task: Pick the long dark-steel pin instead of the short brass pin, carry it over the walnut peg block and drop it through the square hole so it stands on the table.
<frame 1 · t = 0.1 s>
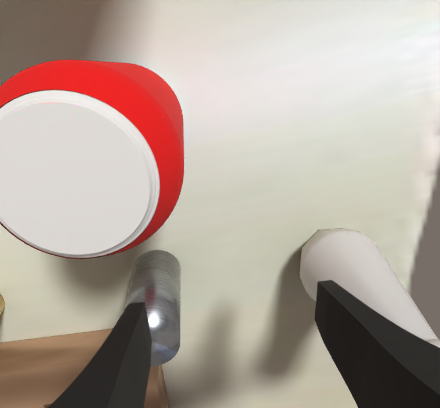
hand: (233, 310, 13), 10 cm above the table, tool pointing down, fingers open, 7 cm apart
long pin: (157, 270, 24), on the table
salt shaker: (325, 249, 25), on the table
beverage can: (132, 118, 20), on the table
hole block: (93, 385, 28), on the table
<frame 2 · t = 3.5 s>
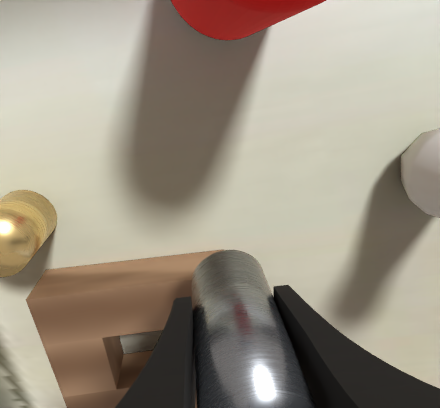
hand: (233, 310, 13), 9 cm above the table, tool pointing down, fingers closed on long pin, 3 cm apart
long pin: (227, 281, 15), point 7 cm above the table, touching gripper
salt shaker: (425, 160, 22), on the table
short pin: (27, 215, 20), on the table
hole block: (150, 326, 24), on the table
when the fingers open (4 cm above the table, at t = 5.3 s): long pin drops 3 cm, resting in hole block.
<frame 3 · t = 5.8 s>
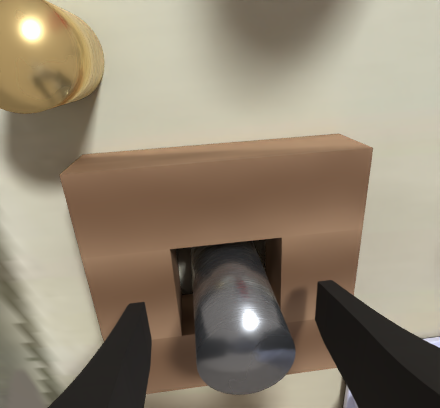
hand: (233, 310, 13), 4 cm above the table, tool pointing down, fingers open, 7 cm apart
long pin: (222, 251, 17), resting in hole block
short pin: (60, 57, 13), on the table
hole block: (221, 254, 17), on the table
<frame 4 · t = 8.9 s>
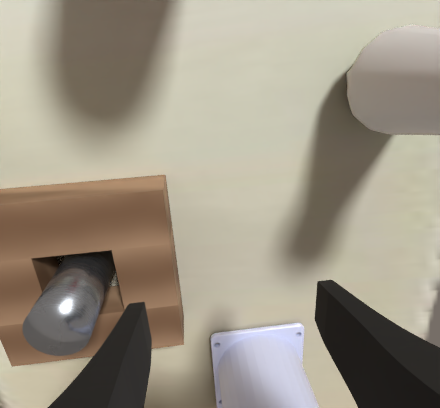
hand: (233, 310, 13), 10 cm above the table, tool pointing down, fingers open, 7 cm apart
long pin: (92, 259, 23), resting in hole block
salt shaker: (373, 81, 21), on the table
hole block: (92, 260, 23), on the table
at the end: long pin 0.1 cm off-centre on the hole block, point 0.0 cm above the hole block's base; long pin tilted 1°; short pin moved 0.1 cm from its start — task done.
